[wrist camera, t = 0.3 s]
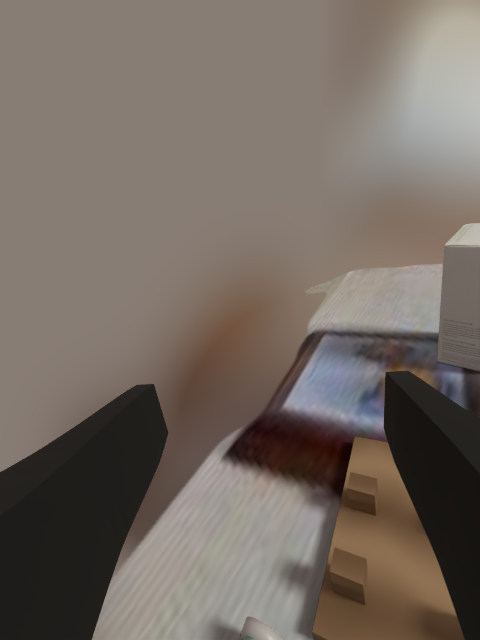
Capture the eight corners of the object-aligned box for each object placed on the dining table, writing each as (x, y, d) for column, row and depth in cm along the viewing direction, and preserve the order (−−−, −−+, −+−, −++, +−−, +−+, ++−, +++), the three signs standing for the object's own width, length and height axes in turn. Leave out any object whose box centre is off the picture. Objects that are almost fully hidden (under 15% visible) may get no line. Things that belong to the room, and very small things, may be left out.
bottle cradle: (552, 765, 14) (568, 740, 13) (314, 639, 20) (306, 612, 18) (492, 471, 26) (497, 441, 25) (355, 443, 32) (353, 418, 31)
